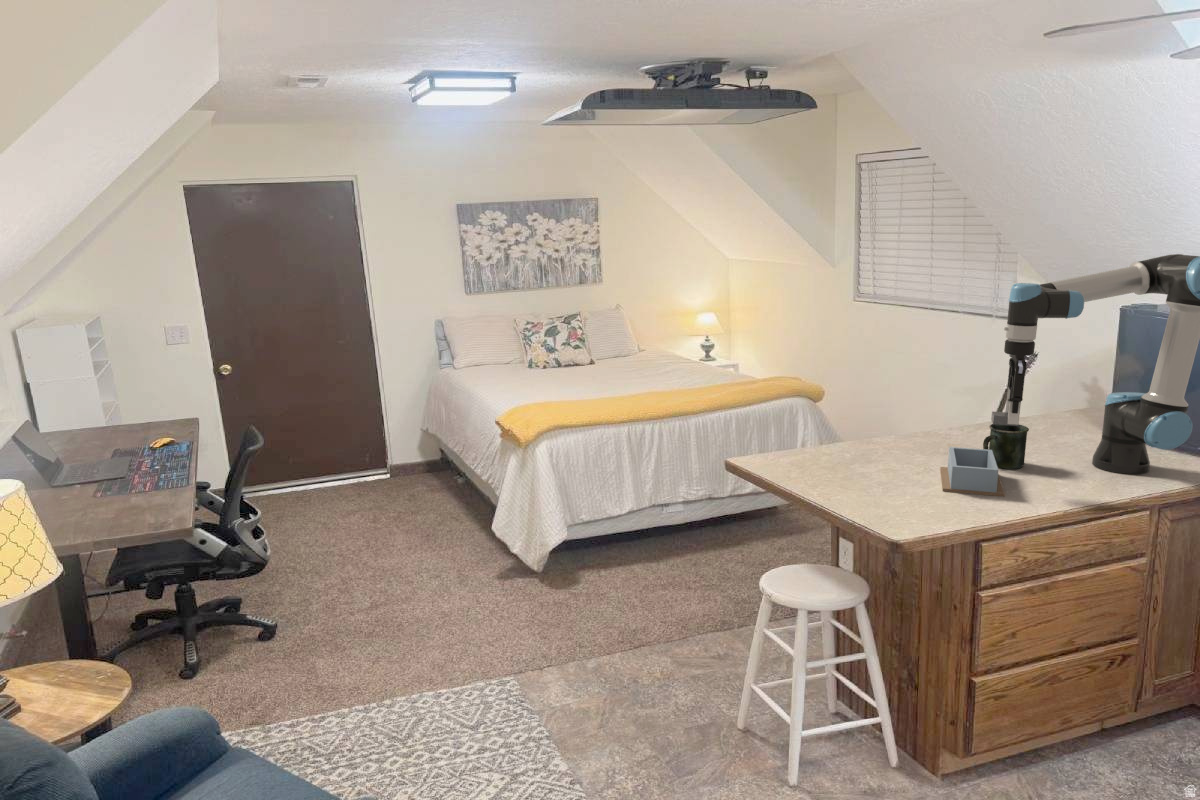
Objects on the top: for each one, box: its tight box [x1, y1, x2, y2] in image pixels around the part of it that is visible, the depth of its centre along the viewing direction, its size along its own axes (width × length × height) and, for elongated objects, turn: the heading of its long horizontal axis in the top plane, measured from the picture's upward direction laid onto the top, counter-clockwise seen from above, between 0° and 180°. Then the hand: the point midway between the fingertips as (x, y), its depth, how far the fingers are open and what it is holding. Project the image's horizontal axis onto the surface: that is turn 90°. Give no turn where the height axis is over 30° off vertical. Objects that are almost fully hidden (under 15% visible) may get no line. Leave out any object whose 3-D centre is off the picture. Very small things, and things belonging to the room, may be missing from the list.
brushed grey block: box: [991, 387, 1022, 426], centre depth 251 cm, size 6×5×10 cm
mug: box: [982, 423, 1030, 470], centre depth 274 cm, size 11×15×12 cm
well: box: [939, 446, 1005, 497], centre depth 259 cm, size 16×21×7 cm
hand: (1011, 421), depth 252 cm, fingers closed on brushed grey block, 5 cm apart
